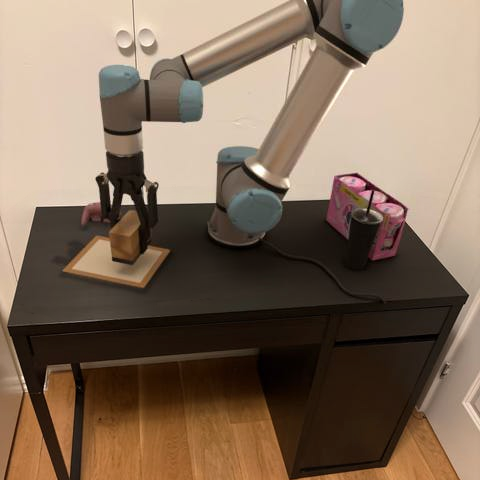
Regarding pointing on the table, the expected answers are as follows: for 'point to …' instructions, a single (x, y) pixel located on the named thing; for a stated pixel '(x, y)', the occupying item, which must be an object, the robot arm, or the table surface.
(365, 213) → the drinking cup
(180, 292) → the table surface
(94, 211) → the video game controller
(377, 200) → the gum box
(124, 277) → the board
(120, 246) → the eraser
